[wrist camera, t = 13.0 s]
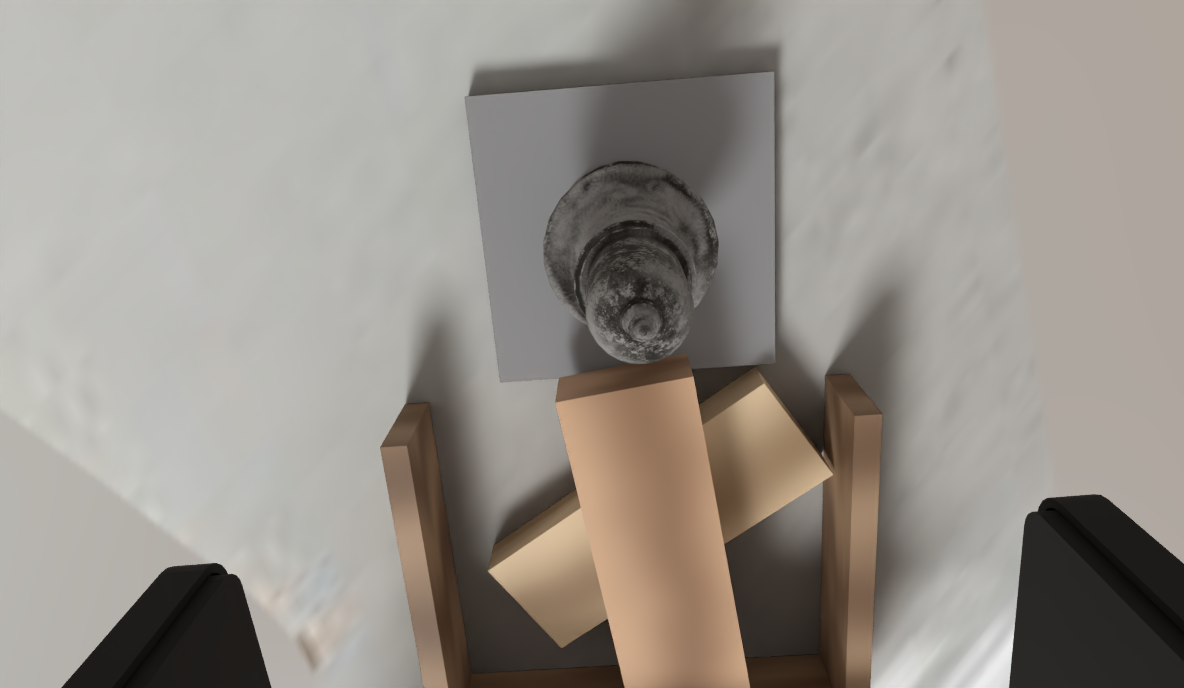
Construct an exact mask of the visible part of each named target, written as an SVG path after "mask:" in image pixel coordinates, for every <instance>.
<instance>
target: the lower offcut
mask: <svg viewBox="0 0 1184 688" xmlns="http://www.w3.org/2000/svg"><path fill="white" fill-rule="evenodd" d="M699 410H700V415H701V420H702V426H703V431H704V437H705V442H706V448H707V453H708V459H709V464H710V470H711V475H712V481H713V486H714V492H715V497H716V503H717V508H718V514H719V519H720V525H721V530H722V536H723V541H724V544H726V543H727V542H729V541H730V540H732V539H733V538H735V537H737V536H738V535H740V534H741V533H743V532H744V531H746V530H748V529H749V528H751V527H752V526H754V525H755V524H757V523H759V522H760V521H762V520H763V519H765V518H766V517H768V516H770V515H771V514H773V513H774V512H776V511H777V510H779V509H781V508H782V507H784V506H785V505H787V504H788V503H790V502H792V501H793V500H795V499H796V498H798V497H799V496H801V495H803V494H804V493H806V492H807V491H809V490H810V489H812V488H813V487H815V486H817V485H818V484H820V483H821V482H823V481H824V480H826V479H828V478H829V477H831V476H832V475H833V473H832V471H831V470H830V468H829V466H828V465H827V463H826V461H825V459H824V458H823V456H822V454H821V453H820V451H819V450H818V449H817V447H816V446H815V445H814V443H813V442H812V441H811V439H810V438H809V437H808V436H807V434H806V433H805V432H804V430H803V429H802V428H801V426H800V425H799V424H798V422H797V421H796V420H795V418H794V417H793V416H792V414H791V413H790V412H789V410H788V409H787V408H786V406H785V405H784V404H783V403H782V401H781V400H780V399H779V397H778V396H777V395H776V393H775V392H774V391H773V389H772V388H771V387H770V385H769V384H768V383H767V381H766V380H765V379H764V377H763V376H762V375H761V373H760V372H759V371H758V369H757V368H756V367H753V368H752V369H751V370H749V371H748V372H746V373H745V374H743V375H742V376H740V377H739V378H737V379H736V380H734V381H733V382H732V383H730V384H729V385H727V386H726V387H724V388H723V389H721V390H720V391H718V392H717V393H715V394H714V395H713V396H711V397H710V398H708V399H707V400H705V401H704V402H702V403H701V404H699ZM488 572H489V573H490V574H491V575H492V576H493V577H494V578H495V579H496V580H497V581H498V582H499V583H500V584H501V585H502V586H503V587H504V588H505V590H506V591H507V592H508V593H509V594H510V595H511V596H512V597H513V598H514V599H515V600H516V601H517V602H518V603H519V604H520V605H521V606H522V607H523V608H524V609H525V610H526V612H527V613H528V614H529V615H530V616H531V617H532V618H533V619H534V620H535V621H536V622H537V623H538V624H539V625H540V626H541V627H542V628H543V629H544V630H545V631H546V632H547V634H548V635H549V636H550V637H551V638H552V639H553V640H554V641H555V642H556V643H557V644H558V645H559V646H560V647H561V648H562V647H564V646H566V645H567V644H569V643H570V642H572V641H573V640H575V639H577V638H578V637H580V636H581V635H583V634H584V633H586V632H588V631H589V630H591V629H592V628H594V627H595V626H597V625H599V624H600V623H602V622H603V621H605V620H606V619H608V617H607V613H606V609H605V605H604V601H603V596H602V592H601V588H600V584H599V580H598V576H597V572H596V568H595V564H594V559H593V555H592V551H591V547H590V543H589V539H588V535H587V531H586V527H585V522H584V518H583V514H582V510H581V506H580V502H579V498H578V494H577V490H576V489H575V490H574V491H573V492H571V493H570V494H568V495H567V496H565V497H564V498H562V499H561V500H559V501H558V502H556V503H555V504H554V505H552V506H551V507H549V508H548V509H546V510H545V511H543V512H542V513H540V514H539V515H537V516H536V517H535V518H533V519H532V520H530V521H529V522H527V523H526V524H524V525H523V526H521V527H520V528H519V529H517V530H516V531H514V532H513V533H511V534H510V535H508V536H507V537H505V538H504V539H502V540H501V541H500V542H498V543H497V544H495V545H494V546H493V550H492V555H491V559H490V564H489V568H488Z"/></svg>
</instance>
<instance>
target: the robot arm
mask: <svg viewBox="0 0 1184 688" xmlns="http://www.w3.org/2000/svg"><path fill="white" fill-rule="evenodd" d="M62 688H271V685H270V681H269V678H268V675H267V671H266V667H265V664H264V660H263V657H262V653H261V650H260V646H259V643H258V639H257V636H256V632H255V629H254V625H253V621H252V618H251V615H250V611H249V607H248V604H247V600H246V597H245V593H244V590H243V586H242V584H241V581H240V579H239V578H238V577H237V576H236V575H234V574H228V573H227V571H226V570H225V568H224V567H223V566H222V565H220V564H217V563H211V564H198V565H185V566H174V567H169V568H167V569H165V570H164V571H163V572H162V573H161V574H160V575H159V576H158V577H157V578H156V579H155V581H154V582H153V583H152V584H151V585H150V586H149V588H148V589H147V590H146V591H145V592H144V593H143V594H142V596H141V597H140V598H139V599H138V600H137V601H136V603H135V604H134V605H133V606H132V607H131V608H130V609H129V611H128V612H127V613H126V614H125V615H124V616H123V617H122V619H121V620H120V621H119V622H118V623H117V624H116V626H115V627H114V628H113V629H112V630H111V631H110V632H109V634H108V635H107V636H106V637H105V638H104V639H103V641H102V642H101V643H100V644H99V645H98V646H97V647H96V649H95V650H94V651H93V652H92V653H91V654H90V655H89V657H88V658H87V659H86V660H85V661H84V663H83V664H82V665H81V666H80V667H79V668H78V669H77V671H76V672H75V673H74V674H73V675H72V676H71V678H70V679H69V680H68V681H67V682H66V683H65V684H64V685H63V687H62ZM1009 688H1184V564H1183V563H1182V562H1181V561H1180V560H1179V559H1177V558H1176V557H1175V556H1174V555H1173V554H1172V553H1170V552H1169V551H1168V550H1167V549H1166V548H1164V547H1163V546H1162V545H1161V544H1159V542H1157V541H1156V540H1155V539H1154V538H1153V537H1152V536H1150V535H1149V534H1148V533H1147V532H1146V531H1145V530H1143V529H1142V528H1141V527H1140V526H1139V525H1137V524H1136V523H1135V522H1134V521H1133V520H1132V519H1130V518H1129V517H1128V516H1127V515H1126V514H1125V513H1123V512H1122V511H1121V510H1120V509H1119V508H1118V507H1116V506H1115V505H1114V504H1113V503H1112V502H1110V501H1109V500H1108V499H1107V498H1105V497H1103V496H1102V495H1095V494H1094V495H1080V496H1067V497H1055V498H1047V499H1045V500H1043V501H1042V503H1041V504H1040V506H1039V509H1038V512H1031V513H1029V514H1028V515H1027V517H1026V520H1025V524H1024V534H1023V545H1022V556H1021V566H1020V577H1019V588H1018V598H1017V609H1016V620H1015V631H1014V641H1013V652H1012V663H1011V673H1010V684H1009Z"/></svg>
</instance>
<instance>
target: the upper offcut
mask: <svg viewBox="0 0 1184 688" xmlns="http://www.w3.org/2000/svg"><path fill="white" fill-rule="evenodd" d="M555 403H556V407H557V411H558V416H559V420H560V424H561V428H562V432H563V436H564V440H565V444H566V448H567V453H568V457H569V461H570V465H571V469H572V473H573V477H574V481H575V485H576V490H577V494H578V498H579V502H580V506H581V510H582V514H583V518H584V522H585V527H586V531H587V535H588V539H589V543H590V547H591V551H592V555H593V559H594V564H595V568H596V572H597V576H598V580H599V584H600V588H601V592H602V596H603V601H604V605H605V609H606V613H607V617H608V621H609V625H610V629H611V633H612V638H613V642H614V646H615V650H616V654H617V658H618V662H619V666H620V670H621V675H622V679H623V683H624V687H625V688H750V684H749V678H748V673H747V667H746V662H745V656H744V651H743V645H742V640H741V634H740V629H739V623H738V618H737V612H736V607H735V601H734V596H733V591H732V585H731V580H730V574H729V569H728V563H727V558H726V552H725V547H724V541H723V536H722V530H721V525H720V519H719V514H718V508H717V503H716V497H715V492H714V486H713V481H712V475H711V470H710V464H709V459H708V453H707V448H706V442H705V437H704V431H703V426H702V420H701V415H700V410H699V404H698V399H697V393H696V388H695V382H694V377H693V373H692V370H691V366H690V363H689V359H688V356H687V353H685V354H680V355H675V356H669V357H665V358H663V359H661V360H659V361H656V362H652V363H648V364H628V365H622V366H617V367H612V368H607V369H601V370H596V371H591V372H586V373H581V374H575V375H570V376H565V377H560V378H559V382H558V389H557V395H556V402H555Z"/></svg>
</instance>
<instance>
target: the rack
mask: <svg viewBox="0 0 1184 688" xmlns="http://www.w3.org/2000/svg"><path fill="white" fill-rule="evenodd" d="M881 436H882V413H881V412H880V411H879V409H878V408H877V407H876V406H875V404H874V403H873V402H872V401H871V399H870V398H869V397H868V396H867V395H866V393H865V392H864V391H863V390H862V388H861V387H860V386H859V385H858V383H857V382H856V381H855V380H854V379H853V377H852V376H851V375H850V374H842V375H828V376H825V411H824V459H825V461H826V463H827V465H828V466H829V468H830V470H831V471H832V473H833V475H832V476H831V477H829V478H828V479H826V480H824V481H823V515H822V567H821V619H820V654H816V655H798V656H780V657H762V658H745V662H746V667H747V673H748V678H749V684H750V688H870V679H871V657H872V635H873V613H874V591H875V568H876V546H877V524H878V502H879V480H880V458H881ZM380 449H381V455H382V460H383V466H384V471H385V477H386V482H387V488H388V493H389V499H390V504H391V510H392V515H393V521H394V526H395V532H396V537H397V543H398V548H399V553H400V559H401V564H402V570H403V575H404V581H405V586H406V592H407V597H408V603H409V608H410V614H411V619H412V625H413V630H414V636H415V641H416V647H417V652H418V658H419V663H420V668H421V674H422V679H423V685H424V688H625V687H624V683H623V679H622V675H621V670H620V666H602V667H584V668H566V669H549V670H531V671H513V672H495V673H477V674H471V667H470V661H469V655H468V648H467V642H466V636H465V629H464V623H463V616H462V610H461V604H460V597H459V591H458V585H457V578H456V572H455V566H454V559H453V553H452V546H451V540H450V534H449V527H448V521H447V515H446V508H445V502H444V496H443V489H442V483H441V477H440V470H439V464H438V457H437V451H436V445H435V438H434V432H433V426H432V419H431V413H430V407H429V403H417V404H405V405H404V407H403V409H402V411H401V412H400V414H399V416H398V418H397V419H396V421H395V423H394V424H393V426H392V428H391V430H390V431H389V433H388V435H387V437H386V438H385V440H384V442H383V443H382V445H381V447H380Z"/></svg>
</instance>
